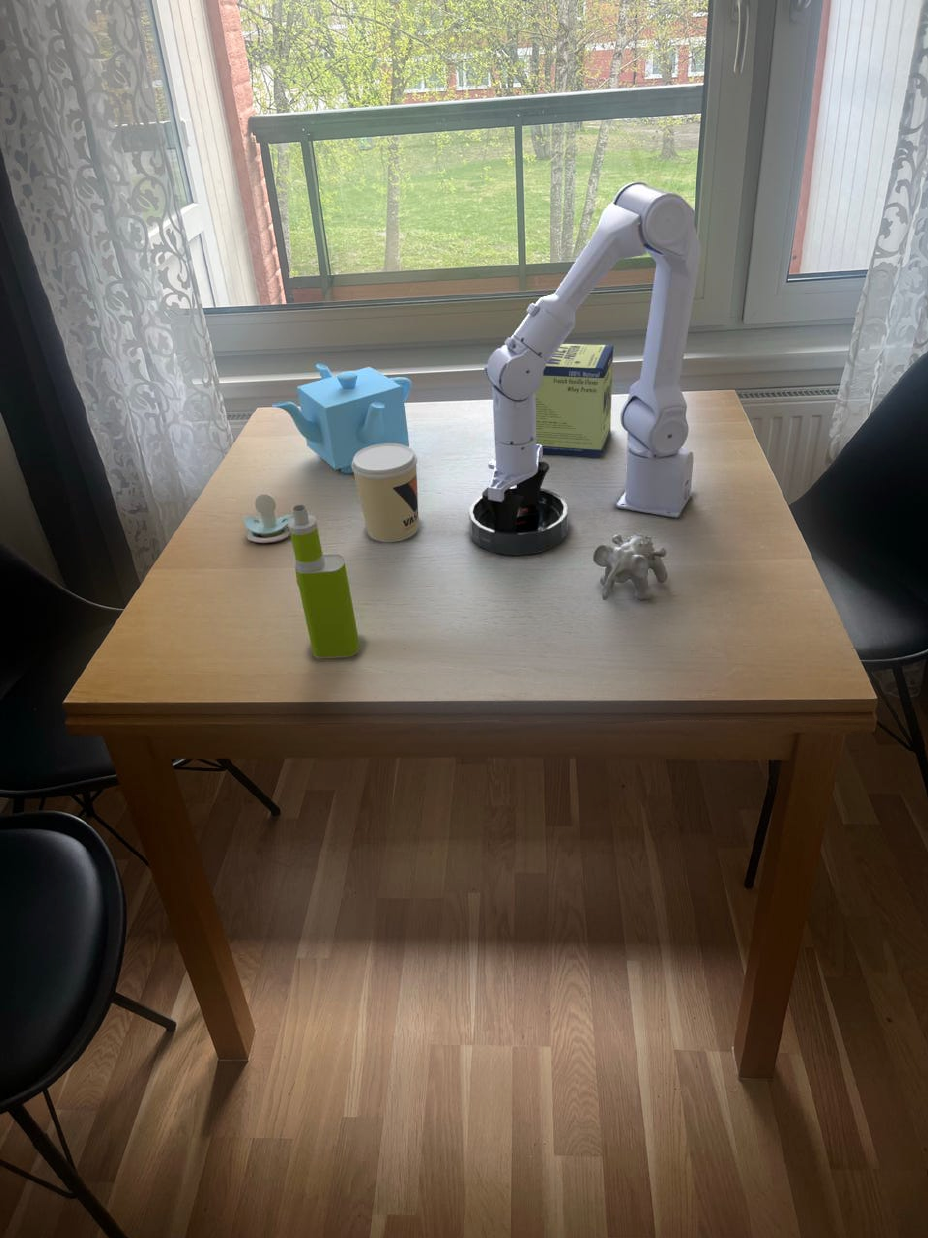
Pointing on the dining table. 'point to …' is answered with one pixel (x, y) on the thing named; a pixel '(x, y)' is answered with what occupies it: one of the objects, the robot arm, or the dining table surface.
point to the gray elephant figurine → (631, 564)
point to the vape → (322, 590)
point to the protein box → (575, 401)
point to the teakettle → (350, 413)
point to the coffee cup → (387, 490)
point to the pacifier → (267, 522)
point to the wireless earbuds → (525, 519)
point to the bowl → (544, 538)
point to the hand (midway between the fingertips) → (518, 522)
